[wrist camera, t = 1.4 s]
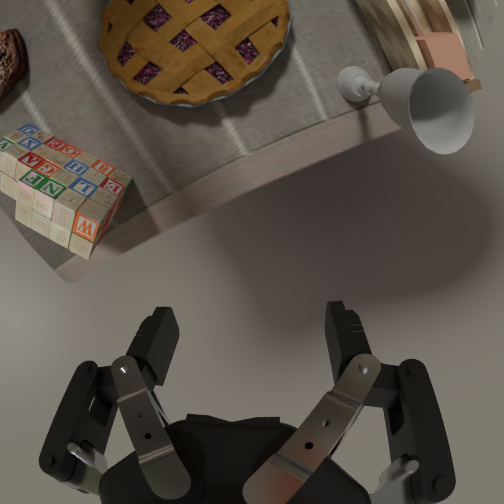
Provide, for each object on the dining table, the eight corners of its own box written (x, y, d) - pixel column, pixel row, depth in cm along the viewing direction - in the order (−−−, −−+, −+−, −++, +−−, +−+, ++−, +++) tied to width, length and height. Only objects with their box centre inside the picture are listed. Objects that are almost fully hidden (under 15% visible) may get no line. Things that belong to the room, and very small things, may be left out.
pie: (323, 25, 23) (336, 19, 19) (197, 135, 32) (192, 146, 28) (195, -67, 13) (190, -82, 9) (81, 49, 22) (60, 50, 18)
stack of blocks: (21, 156, 29) (-26, 192, 20) (28, 122, 26) (-25, 152, 17) (120, 209, 38) (88, 262, 28) (134, 177, 35) (99, 224, 25)
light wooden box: (334, -30, 17) (358, -49, 11) (388, -39, 14) (418, -52, 8) (402, 94, 28) (436, 106, 22) (445, 78, 25) (481, 88, 19)
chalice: (320, 93, 29) (393, 124, 15) (340, 49, 25) (428, 48, 11) (367, 117, 30) (453, 168, 16) (386, 77, 27) (484, 104, 13)
